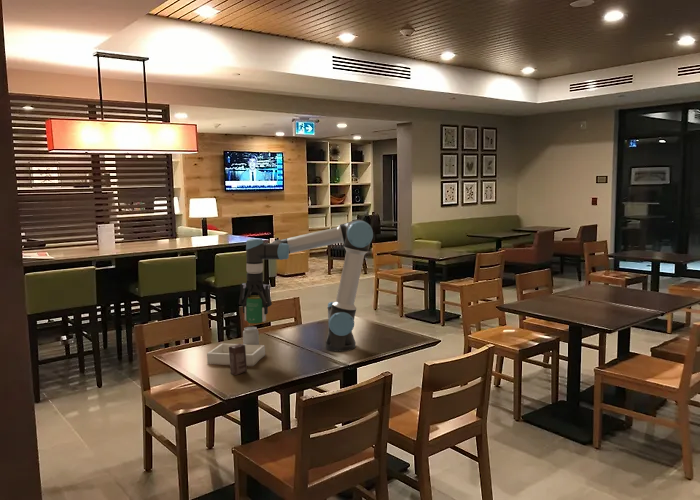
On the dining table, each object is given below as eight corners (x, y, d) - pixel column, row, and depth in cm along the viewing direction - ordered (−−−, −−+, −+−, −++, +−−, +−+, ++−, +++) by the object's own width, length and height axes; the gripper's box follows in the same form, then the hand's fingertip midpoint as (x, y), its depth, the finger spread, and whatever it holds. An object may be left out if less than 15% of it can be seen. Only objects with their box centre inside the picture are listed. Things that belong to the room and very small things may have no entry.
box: (240, 369, 249) (239, 343, 247) (247, 371, 246) (246, 344, 244) (229, 373, 244) (228, 346, 243) (236, 375, 241) (234, 348, 240)
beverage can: (267, 321, 264) (267, 295, 263) (257, 324, 257) (257, 299, 256) (253, 319, 268) (252, 294, 266) (243, 322, 260) (242, 297, 259)
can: (255, 354, 271) (255, 330, 269) (241, 353, 272) (240, 329, 271) (261, 349, 278) (260, 326, 277) (247, 349, 280) (246, 325, 278)
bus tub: (265, 355, 269) (264, 345, 268) (252, 366, 253) (252, 355, 253) (222, 353, 273) (221, 343, 273) (207, 363, 258) (207, 353, 257)
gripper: (278, 271, 261) (279, 319, 264) (236, 270, 265) (237, 317, 268) (273, 274, 254) (274, 323, 257) (230, 272, 258) (231, 321, 261)
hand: (255, 320), depth 262 cm, fingers closed on beverage can, 8 cm apart
